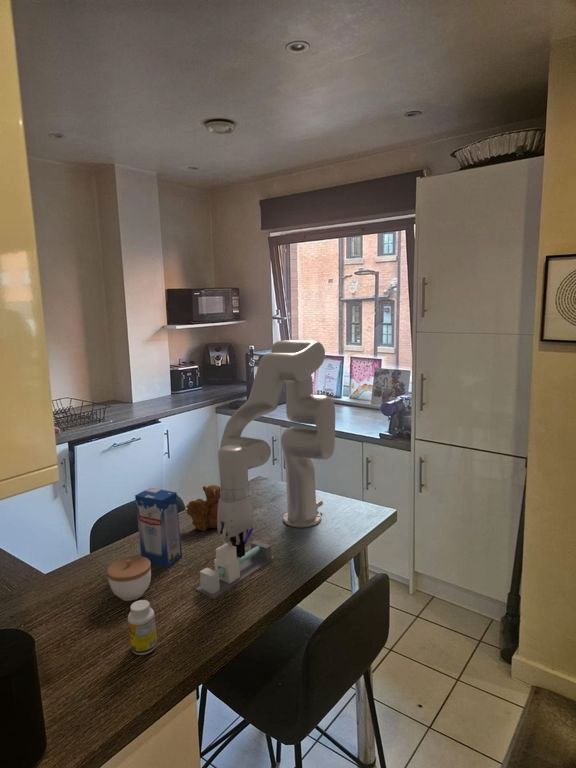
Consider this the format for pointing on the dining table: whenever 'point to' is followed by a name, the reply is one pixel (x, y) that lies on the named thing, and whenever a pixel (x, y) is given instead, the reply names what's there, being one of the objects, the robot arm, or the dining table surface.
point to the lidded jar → (129, 577)
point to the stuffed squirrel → (205, 508)
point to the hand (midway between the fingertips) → (238, 555)
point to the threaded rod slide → (247, 564)
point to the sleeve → (227, 562)
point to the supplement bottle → (142, 628)
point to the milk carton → (159, 526)
